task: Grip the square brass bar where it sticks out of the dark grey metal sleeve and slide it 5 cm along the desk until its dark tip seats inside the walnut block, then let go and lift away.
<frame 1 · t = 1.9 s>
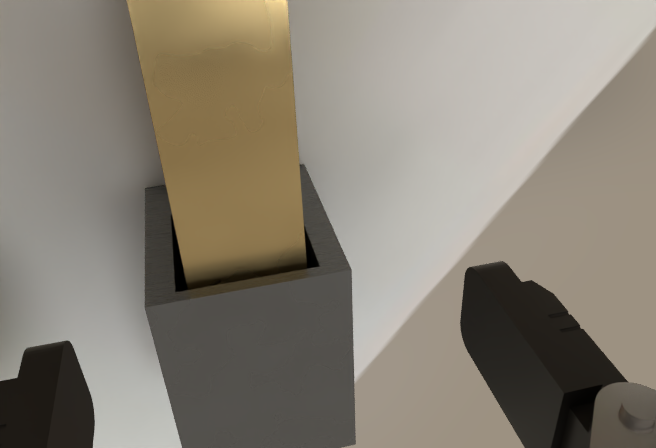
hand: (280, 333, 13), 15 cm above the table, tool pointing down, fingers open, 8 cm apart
brass bar: (234, 198, 23), point 5 cm above the table, slide at 0.0 cm
grey sleeve: (239, 262, 30), on the table
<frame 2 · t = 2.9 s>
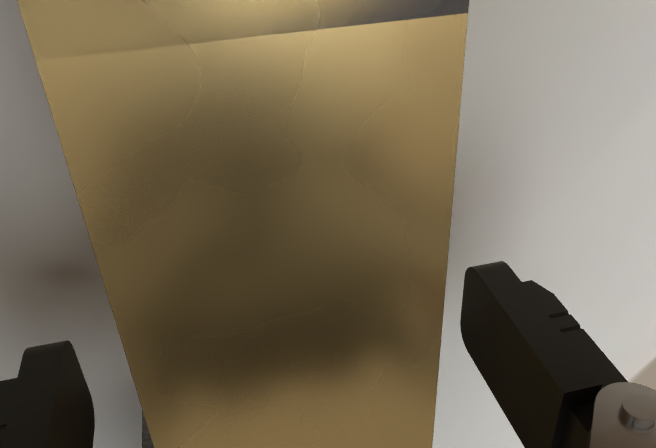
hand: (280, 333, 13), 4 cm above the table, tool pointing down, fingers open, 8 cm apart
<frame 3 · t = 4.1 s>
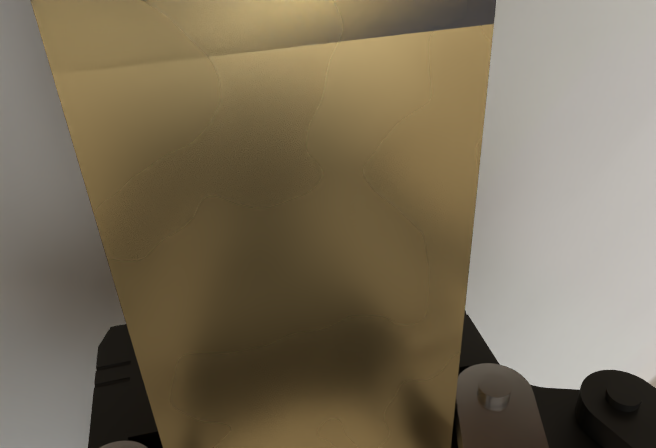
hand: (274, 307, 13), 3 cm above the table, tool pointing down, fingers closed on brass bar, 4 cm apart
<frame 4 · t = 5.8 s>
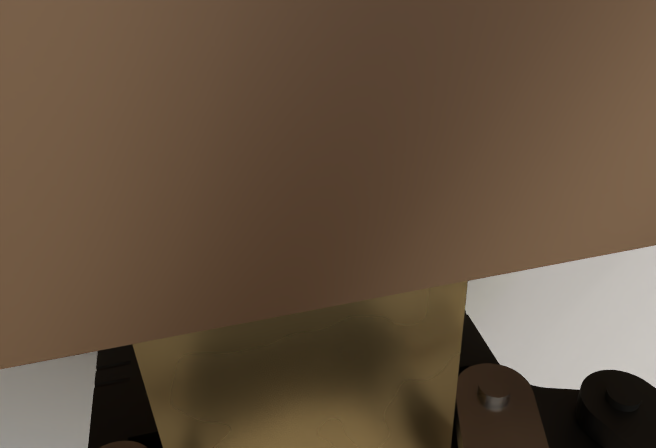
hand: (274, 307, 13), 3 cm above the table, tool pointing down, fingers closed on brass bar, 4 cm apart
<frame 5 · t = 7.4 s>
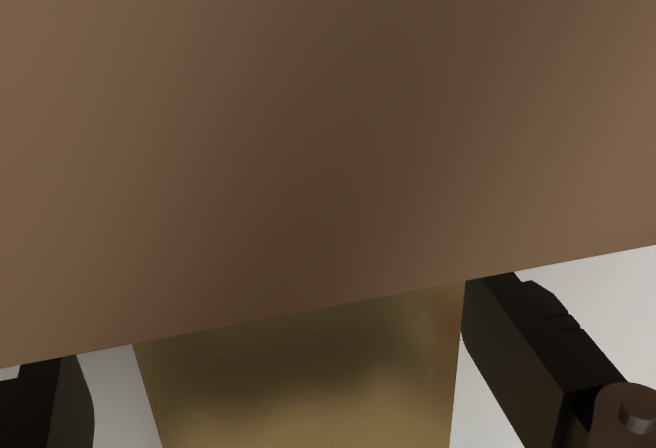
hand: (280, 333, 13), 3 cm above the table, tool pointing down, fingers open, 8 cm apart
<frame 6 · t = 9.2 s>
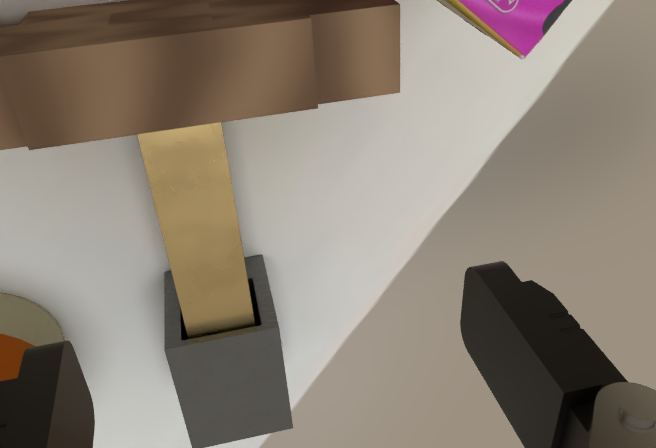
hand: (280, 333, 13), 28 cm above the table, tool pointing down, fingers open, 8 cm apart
walnut block: (168, 37, 36), on the table
brass bar: (201, 220, 37), point 5 cm above the table, slide at 5.0 cm
grey sleeve: (224, 313, 48), on the table
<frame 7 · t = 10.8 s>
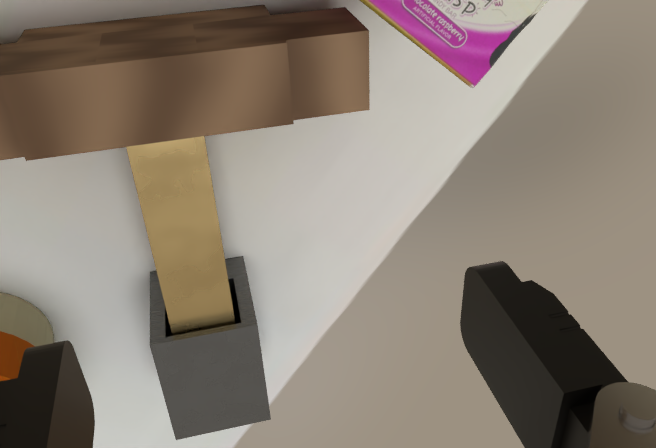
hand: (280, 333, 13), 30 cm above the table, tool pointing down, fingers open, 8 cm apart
walnut block: (155, 53, 39), on the table
brass bar: (184, 224, 40), point 5 cm above the table, slide at 5.0 cm
grey sleeve: (206, 311, 50), on the table
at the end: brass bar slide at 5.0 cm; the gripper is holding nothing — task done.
